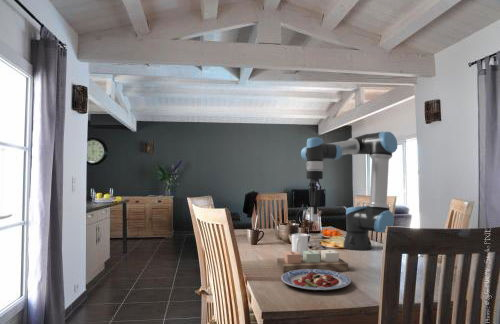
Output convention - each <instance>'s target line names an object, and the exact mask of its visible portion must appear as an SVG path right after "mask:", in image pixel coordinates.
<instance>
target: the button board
mask: <svg viewBox="0 0 500 324" xmlns="http://www.w3.org/2000/svg"><path fill="white" fill-rule="evenodd" d="M276 261H277V266H278V268H279V267H280V268H279V269H280V270H281V272H282V273H283V274H285V273H287V272H290V271H294V270H301V269H321V270H329V271H334V272H345V271H349V263H348V262H347V261H345V260H344V259H341V257H339V262H324V261H323V260H321V256H320V262H316V263H306V262H304V261H303V256H301V263H291V264H287V263H286V262H285V257H277V260H276Z"/></svg>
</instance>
